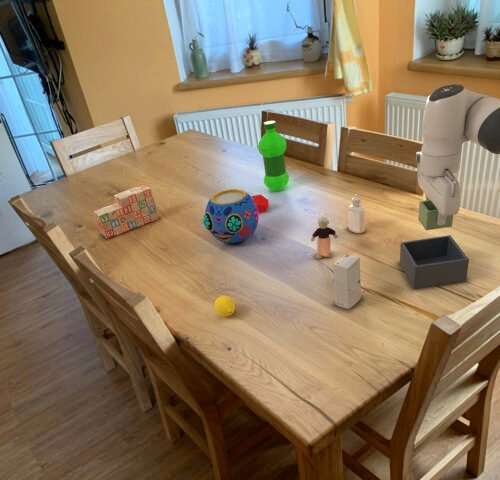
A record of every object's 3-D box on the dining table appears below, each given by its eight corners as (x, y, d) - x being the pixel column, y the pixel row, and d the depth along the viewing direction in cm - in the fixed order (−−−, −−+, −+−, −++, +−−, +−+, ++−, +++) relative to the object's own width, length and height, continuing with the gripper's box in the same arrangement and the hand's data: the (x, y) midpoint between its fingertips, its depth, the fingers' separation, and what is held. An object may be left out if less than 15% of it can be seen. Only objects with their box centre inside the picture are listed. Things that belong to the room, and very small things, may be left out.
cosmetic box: (349, 310, 126) (348, 269, 118) (334, 305, 128) (332, 264, 121) (361, 297, 129) (361, 257, 122) (347, 293, 132) (345, 253, 124)
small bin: (443, 215, 128) (445, 197, 125) (452, 226, 123) (454, 207, 120) (418, 219, 128) (419, 201, 125) (425, 230, 123) (427, 211, 120)
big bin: (447, 256, 138) (450, 234, 134) (466, 281, 128) (469, 259, 124) (399, 263, 139) (400, 242, 135) (413, 289, 129) (415, 267, 125)
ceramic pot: (200, 249, 164) (190, 207, 155) (225, 224, 176) (217, 184, 167) (248, 254, 157) (240, 210, 147) (270, 228, 168) (264, 185, 159)
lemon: (212, 311, 134) (208, 295, 131) (230, 304, 136) (227, 288, 132) (222, 324, 129) (218, 307, 126) (241, 316, 130) (238, 300, 127)
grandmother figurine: (314, 261, 147) (311, 222, 139) (311, 255, 150) (308, 216, 142) (339, 255, 147) (338, 216, 140) (336, 250, 150) (334, 211, 143)
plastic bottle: (292, 182, 197) (285, 116, 182) (287, 193, 189) (280, 125, 174) (267, 183, 200) (259, 119, 184) (262, 194, 192) (253, 128, 176)
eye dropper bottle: (352, 235, 156) (351, 199, 149) (347, 227, 160) (346, 192, 153) (365, 232, 156) (365, 196, 149) (361, 225, 160) (360, 189, 153)
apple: (272, 192, 179) (250, 186, 178) (270, 203, 174) (247, 198, 174) (268, 207, 184) (247, 202, 184) (265, 218, 180) (244, 213, 179)
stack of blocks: (107, 239, 181) (95, 208, 173) (101, 234, 185) (90, 203, 178) (159, 218, 189) (150, 187, 181) (152, 214, 193) (143, 183, 185)
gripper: (470, 176, 108) (463, 233, 116) (439, 146, 124) (434, 199, 132) (441, 180, 108) (436, 237, 117) (414, 150, 124) (411, 202, 133)
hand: (435, 217), depth 125 cm, fingers closed on small bin, 6 cm apart
